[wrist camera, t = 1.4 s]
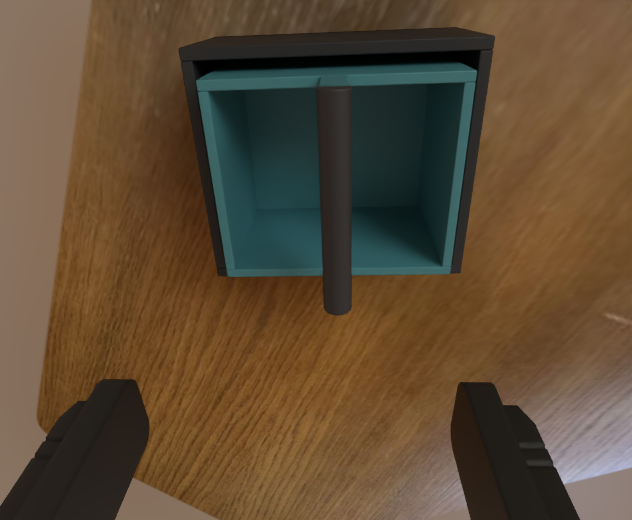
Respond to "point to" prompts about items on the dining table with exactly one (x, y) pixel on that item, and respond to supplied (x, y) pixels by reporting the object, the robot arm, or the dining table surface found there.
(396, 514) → the dining table surface
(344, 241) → the teal bin
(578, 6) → the dining table surface
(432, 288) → the dining table surface
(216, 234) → the charcoal bin
